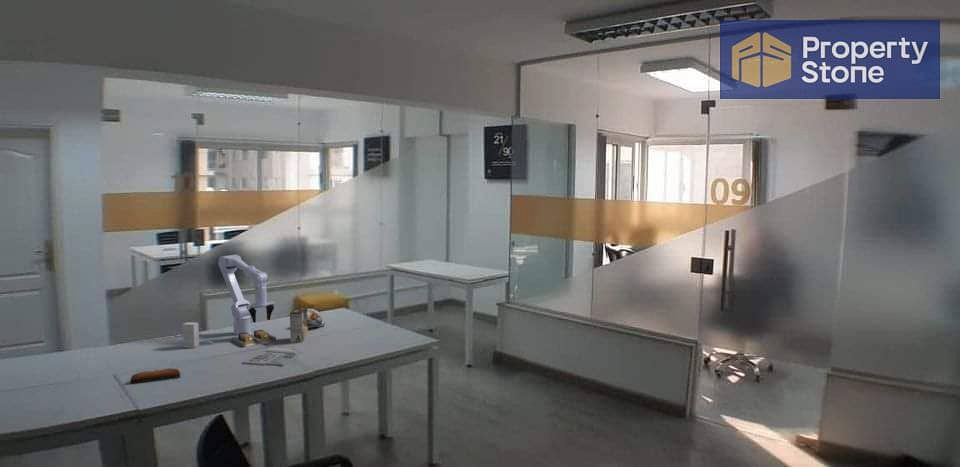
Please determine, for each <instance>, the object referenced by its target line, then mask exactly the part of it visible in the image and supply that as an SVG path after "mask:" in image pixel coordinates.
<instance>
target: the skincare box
mask: <svg viewBox="0 0 960 467" xmlns="http://www.w3.org/2000/svg"><path fill="white" fill-rule="evenodd" d="M199 329H200V328H199V322H191V321H190V322H184V323H182V342H183V344H182V346H183V348H184V349H185V348H186V349H195V348H197V347H199V346H200V334H199V332H200V331H199Z"/></svg>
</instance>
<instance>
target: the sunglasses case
mask: <svg viewBox="0 0 960 467" xmlns="http://www.w3.org/2000/svg"><path fill="white" fill-rule="evenodd" d="M169 378H181V373H180V370H179V369H178V368H173V367H172V368H171V367H170V368H162V369H156V370H147V371H146V370H145V371H141V372H137V373H135V374H133V375H132V376H131V377H130V385H132V384H136V383H142V382H146V381H147V382H148V381H154V380H160V379H161V380H162V379H169Z"/></svg>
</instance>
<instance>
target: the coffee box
mask: <svg viewBox="0 0 960 467" xmlns="http://www.w3.org/2000/svg"><path fill="white" fill-rule="evenodd" d="M307 309H308V308H303V309H302V308H295V309H294V310H292V311H290V312H289V322H290V323H289V328H290V329H289V331H290V333H289V334H290V336H289V337H290V343H304V342H305V341H306V340H307V339H309V328H308V314H307Z"/></svg>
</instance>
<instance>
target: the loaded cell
mask: <svg viewBox="0 0 960 467" xmlns="http://www.w3.org/2000/svg"><path fill="white" fill-rule="evenodd" d="M253 333H254V334H253V336H254V337H256V338H259V339H261V342H264V341H269V334H270V332H267V331H266V330H264V329H257V330H253Z"/></svg>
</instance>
